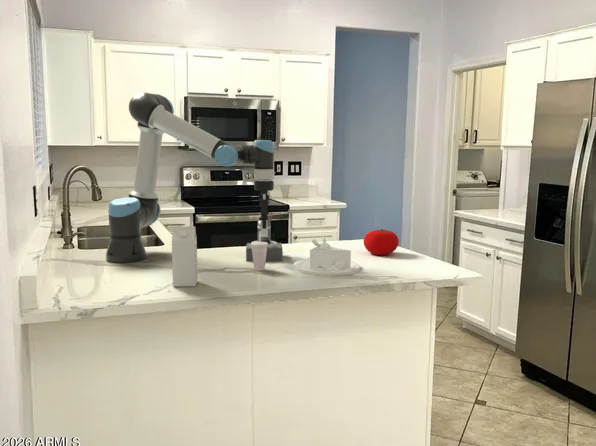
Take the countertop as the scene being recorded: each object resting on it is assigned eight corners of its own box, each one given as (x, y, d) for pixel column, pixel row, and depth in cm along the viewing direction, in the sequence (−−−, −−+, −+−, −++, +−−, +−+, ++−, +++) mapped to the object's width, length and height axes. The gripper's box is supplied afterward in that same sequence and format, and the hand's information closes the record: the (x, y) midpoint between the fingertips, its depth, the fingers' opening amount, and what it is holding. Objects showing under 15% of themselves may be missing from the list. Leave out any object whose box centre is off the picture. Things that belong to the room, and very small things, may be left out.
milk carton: (175, 281, 184) (174, 224, 182) (197, 281, 185) (196, 224, 182) (172, 287, 177) (171, 228, 175) (195, 286, 178) (194, 228, 175)
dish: (282, 272, 199) (282, 241, 197) (307, 258, 222) (307, 231, 220) (349, 279, 190) (349, 246, 188) (367, 264, 213) (368, 235, 211)
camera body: (246, 261, 215) (246, 245, 215) (246, 255, 226) (246, 240, 225) (282, 260, 216) (282, 245, 216) (281, 255, 227) (281, 240, 226)
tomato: (359, 255, 227) (360, 230, 226) (367, 249, 239) (368, 225, 238) (394, 258, 222) (395, 232, 221) (400, 252, 234) (401, 228, 232)
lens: (257, 246, 218) (257, 221, 216) (257, 244, 223) (257, 219, 222) (270, 246, 218) (270, 221, 217) (270, 244, 223) (270, 219, 222)
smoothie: (270, 268, 204) (270, 230, 202) (264, 272, 198) (264, 233, 196) (254, 266, 206) (254, 229, 204) (247, 270, 200) (247, 232, 198)
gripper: (274, 182, 205) (274, 239, 208) (272, 177, 229) (272, 228, 232) (254, 182, 204) (254, 239, 207) (254, 177, 229) (254, 228, 232)
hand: (264, 233), depth 220 cm, fingers open, 13 cm apart
